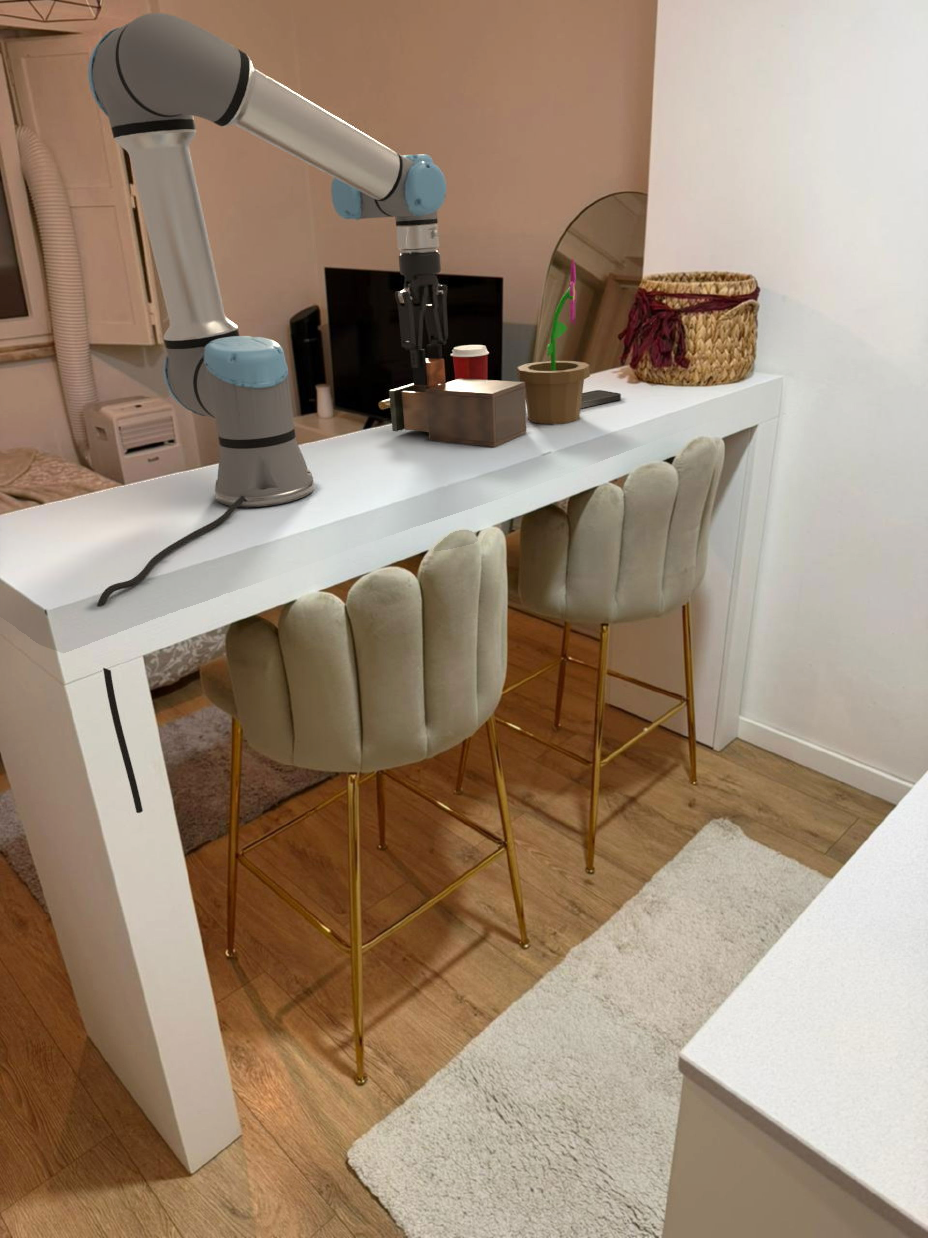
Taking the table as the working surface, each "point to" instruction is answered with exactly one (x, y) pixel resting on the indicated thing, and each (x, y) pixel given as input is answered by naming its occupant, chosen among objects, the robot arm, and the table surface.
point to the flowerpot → (555, 376)
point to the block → (435, 372)
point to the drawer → (408, 408)
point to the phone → (598, 397)
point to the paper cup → (470, 362)
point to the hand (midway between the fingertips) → (428, 381)
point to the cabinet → (476, 411)
